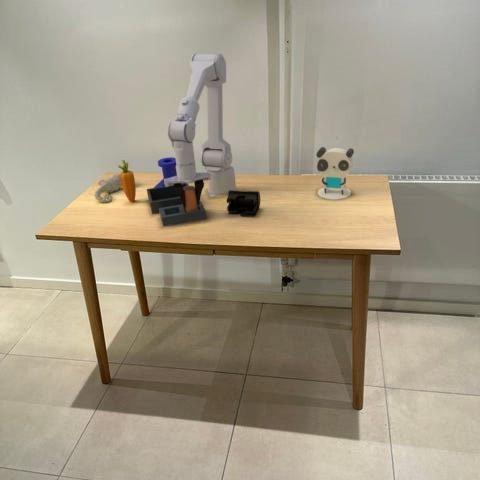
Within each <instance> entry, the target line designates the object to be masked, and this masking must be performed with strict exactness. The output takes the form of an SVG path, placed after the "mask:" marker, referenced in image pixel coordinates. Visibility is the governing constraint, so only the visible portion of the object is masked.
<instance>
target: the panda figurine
mask: <svg viewBox="0 0 480 480" xmlns="http://www.w3.org/2000/svg"><path fill="white" fill-rule="evenodd" d="M354 153H355V150H354V148H348V149H344V148H340V147H333V148H329V149H327V148H326V147H324V146H322V147H319V149H318V150H317V152H316V154H315V156H316V157H317V158H318V161H317V164H316V169H317V172H318V173H319V175H320V176H321V177H322V179H321V183H322V184H323V187H320V188H319V189H318V190H317V195H318V196H319V197H320V198H322V199H324V200H325V199H326V200H332V201H333V200H334V201H335V200H336V201H338V200H344V199H346V198H349V197H350V196H351V194H352V191H351V189H350V188H348V187H346V186H347V185H346V184H347V176H348V175H349V174H350V171H351V170H352V168H353V157H352V156H353V155H354Z"/></svg>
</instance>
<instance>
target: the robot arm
mask: <svg viewBox="0 0 480 480" xmlns="http://www.w3.org/2000/svg"><path fill="white" fill-rule="evenodd" d="M189 73H190V75H191V76H190V80H189V83H188V88H187V93H186V97H182V98H181V100H180V103H179V106H178V109H177V112H176V115H175V118H174V120H172V121H171V122H170V123H169V125H168V126H167V127H168V128H167V136H168V139H169V141H170V143H171V147H172V148H173V150H174V158H176V171H177V176H174V177H171V178H167V179H164V178H163V179H164V183H165V187H169V186H171V185H173V186H174V188H175V190H176V192H177V193H178V195H179V196H180V198H181V201H182V205H183V207H186V206H185V200H184V194H183V188H182V184H184V183H188V184H192V183H193V185H194V187H195V189H196V197H197V204H198V205H199V204H200V201H201V196H202V193H203V189H204V187H205V181H207V182H208V183H207V184H208V188H206V191H207V193H208V195H209V196H210V198H214V197H221V196H229V195H228V191H229V190H236V191H237V183H236V173H235V169H234V166H233V165H232V163H233V154H232V148H231V144H230V143H229V142H228V141H227V140H225V139H224V138H223V137H224V127H223V125H224V123H223V122H224V121H223V115H224V113H223V107H224V106H223V85H224V84H225V83H226V82H227V61H226V59H225V57H224V55H223V54H222V53H193V54H192V55H191V57H190V60H189ZM205 87H206V107H207V109H206V110H207V111H206V113H207V139H206V140H205V141H204V142H203V143H202V144H201V151H200V157H199V158H200V163H201V165H202V167H204V170H205V171H206V172H197V168H196V159H195V151H194V143H193V141H194V139H195V137H196V127H197V124H196V121H197V117H198V114H199V111H200V108H201V107H200V104H199V100H200V98H201V95H202V93H203V91H204V88H205Z"/></svg>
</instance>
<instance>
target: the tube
mask: <svg viewBox="0 0 480 480" xmlns="http://www.w3.org/2000/svg"><path fill="white" fill-rule="evenodd" d="M183 194H184V200H185V206H186V207H185V209H186V212H188V211H194V210H198V205H197V197H196V189H195V185H189V186H186V187H184V188H183Z"/></svg>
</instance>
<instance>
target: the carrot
mask: <svg viewBox="0 0 480 480" xmlns="http://www.w3.org/2000/svg"><path fill="white" fill-rule="evenodd" d="M121 162H122V164H123V165H122V166H121V165H117V168H119V169H121V170H122V171H121V172H120V173H119V174H120V180H121V184H122V185H121V187H122V190H123V192H124V195H125V197H126V199H127V200H128V201H129V202H130V203H135V200H136V194H137V192H136V182H135V180H136V179H135V175H134V174H135V173H134V172H133V171H132V170H129V169H128V168H129V162H127V161H126V160H125V159H122V160H121ZM134 179H135V180H134Z"/></svg>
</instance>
